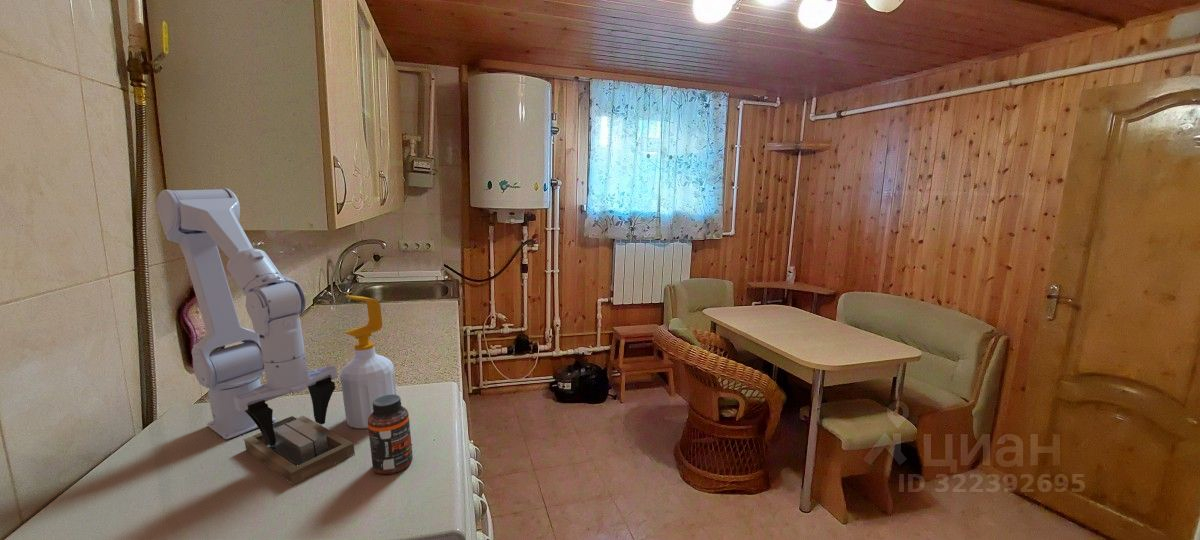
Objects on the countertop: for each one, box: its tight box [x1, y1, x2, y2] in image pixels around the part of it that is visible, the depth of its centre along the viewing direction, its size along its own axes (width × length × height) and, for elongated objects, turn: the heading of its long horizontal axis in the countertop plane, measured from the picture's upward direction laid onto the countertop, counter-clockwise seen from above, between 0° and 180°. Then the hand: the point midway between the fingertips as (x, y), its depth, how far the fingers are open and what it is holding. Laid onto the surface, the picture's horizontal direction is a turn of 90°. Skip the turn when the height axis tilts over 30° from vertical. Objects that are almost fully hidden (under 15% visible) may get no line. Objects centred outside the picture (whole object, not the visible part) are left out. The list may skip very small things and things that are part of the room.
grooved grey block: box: [269, 415, 330, 466], centre depth 78 cm, size 12×4×4 cm, turn 56°
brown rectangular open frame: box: [243, 415, 356, 486], centre depth 78 cm, size 17×9×2 cm, turn 56°
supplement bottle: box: [367, 394, 413, 475], centre depth 73 cm, size 6×6×11 cm
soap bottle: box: [339, 294, 398, 429], centre depth 87 cm, size 9×9×25 cm
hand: (296, 432), depth 78 cm, fingers open, 7 cm apart
